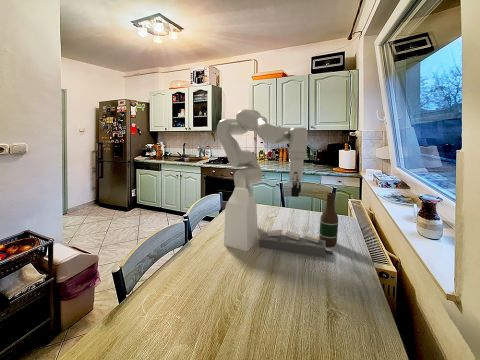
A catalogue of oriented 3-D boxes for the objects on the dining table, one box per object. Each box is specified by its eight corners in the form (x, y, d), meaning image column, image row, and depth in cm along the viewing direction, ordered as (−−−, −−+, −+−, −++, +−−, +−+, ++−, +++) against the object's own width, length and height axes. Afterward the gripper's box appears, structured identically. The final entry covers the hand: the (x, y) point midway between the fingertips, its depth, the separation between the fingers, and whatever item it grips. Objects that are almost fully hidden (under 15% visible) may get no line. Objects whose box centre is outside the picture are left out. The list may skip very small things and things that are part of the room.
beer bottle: (338, 248, 111) (341, 195, 107) (319, 246, 113) (322, 194, 108) (335, 241, 119) (338, 191, 114) (318, 239, 120) (320, 190, 116)
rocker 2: (303, 238, 109) (304, 235, 108) (304, 235, 112) (305, 232, 111) (317, 242, 107) (318, 239, 106) (318, 239, 110) (319, 236, 109)
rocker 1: (267, 236, 114) (267, 232, 114) (269, 233, 117) (268, 230, 117) (280, 235, 112) (280, 232, 112) (282, 232, 115) (281, 229, 115)
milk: (223, 245, 115) (222, 189, 110) (235, 236, 125) (235, 185, 120) (247, 250, 109) (247, 192, 104) (258, 241, 119) (258, 187, 114)
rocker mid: (285, 235, 111) (286, 232, 111) (286, 233, 114) (287, 230, 114) (298, 240, 109) (299, 237, 109) (299, 237, 112) (300, 234, 112)
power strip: (258, 247, 112) (259, 238, 111) (263, 240, 120) (263, 232, 119) (332, 258, 102) (333, 249, 101) (332, 250, 109) (333, 241, 109)
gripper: (291, 154, 121) (290, 190, 124) (286, 157, 105) (284, 198, 108) (307, 154, 118) (306, 191, 122) (304, 157, 102) (302, 199, 105)
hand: (296, 194), depth 115 cm, fingers open, 7 cm apart
